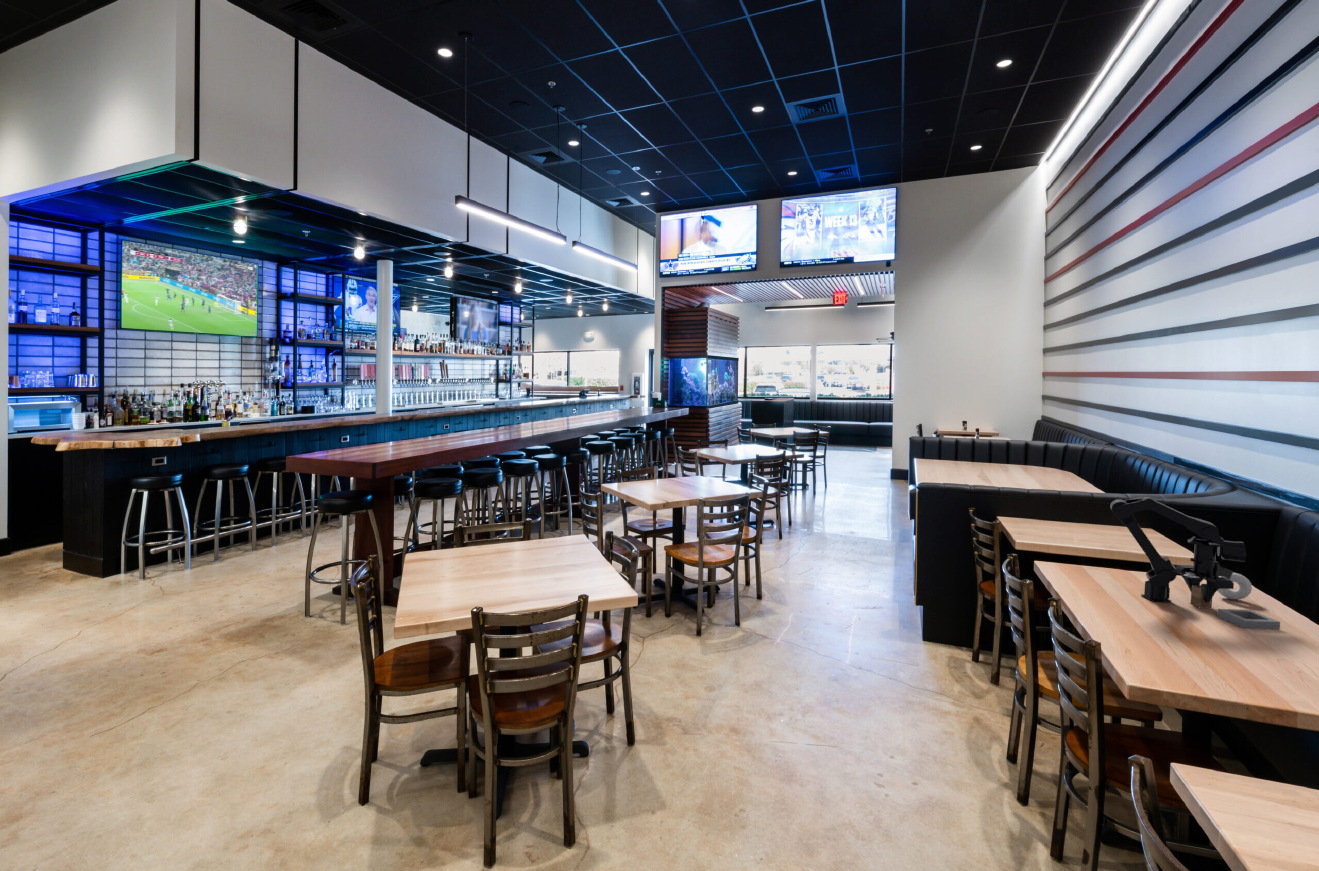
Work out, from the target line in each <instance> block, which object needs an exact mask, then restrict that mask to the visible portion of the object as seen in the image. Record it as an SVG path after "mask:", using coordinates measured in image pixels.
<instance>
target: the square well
mask: <svg viewBox="0 0 1319 871" xmlns="http://www.w3.org/2000/svg"><path fill="white" fill-rule="evenodd" d="M1216 616H1217V617H1219V618H1221V619H1223V620H1225V621H1227V622H1230V623H1232V624H1234V625H1237V627H1238V626H1239V627H1240V628H1242V629H1245V630H1246V629H1249V630H1250V629H1252V630H1253V629H1254V630H1281V621H1278V620H1277V619H1274V618H1272V617H1269V616H1267V615H1265V614H1262V613H1260V612H1256V611H1254V610H1252V609H1237V608H1235V609H1234V608H1233V609H1232V608H1230V609H1228V608H1217V613H1216Z"/></svg>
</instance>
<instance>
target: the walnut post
mask: <svg viewBox="0 0 1319 871" xmlns="http://www.w3.org/2000/svg"><path fill="white" fill-rule="evenodd" d="M1190 593H1191V594H1190V605H1192V606H1194V605H1195V606H1194V607H1196V606H1197V607H1196V608H1199V607H1200V608H1199V609H1212V608H1213V606H1212V605H1213V598H1212V599H1211V601H1210V602H1209V603H1206V602H1205V599H1204V595H1203V591H1202V586H1201V584H1200V585H1192V590H1191V591H1190Z"/></svg>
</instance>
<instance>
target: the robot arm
mask: <svg viewBox="0 0 1319 871" xmlns="http://www.w3.org/2000/svg"><path fill="white" fill-rule="evenodd" d="M1109 507H1110V510H1111V512H1112V514H1113V515H1114V516H1115V517H1116V518H1117V519H1118V520H1119V521H1120V522H1121V523H1122V524H1124V525H1125V527H1126V528H1127V530H1128V531H1129V533H1131V536H1132V537H1133V538H1134V540H1135V541H1136V542H1137V544H1138V545H1139V547H1140V548H1141V550H1142V551H1143V553H1144V555H1145V556H1146V557H1147V559H1148V561H1149V563H1150V565H1151V568H1152V569H1150V570H1148V571H1147V572H1146V573H1145V575H1146V578H1147V580H1145V581H1144V594H1140V596H1141V597H1142V598H1145V599H1147V600H1148V601H1151V602H1154V603H1155V602H1156V603H1157V602H1158V603H1172V600H1171V599H1170V596H1171V594H1170V592H1171V591H1170V590H1171V588H1170V583H1171V582H1173V581H1174V580H1176V578H1177V574H1179V575H1181V578H1182V579H1183V580H1184V582H1185V584H1186V586H1187V587H1188V588H1189V591H1190V592H1191V590H1192V585H1201V586H1202V591H1203V595H1204V599H1205V602H1206V603H1209V602H1210V601H1211V599H1212V600H1213V597H1214V596H1215V595H1216V592H1218V591H1217V590H1218V589H1230V590H1234V588H1235V587H1234V584H1235V582H1232V581H1231V580H1229V579H1230V578H1231V576H1232V574H1233V573H1235V572H1234V571H1233V570H1230V569H1228V568H1226V567H1222V566H1221V565H1220V562H1219V561H1216V558H1217V557H1216V556H1218V557H1221V560H1224V561H1233V562H1242V563H1245V562H1246V560H1247V552H1246V544H1245V542H1243V541H1231V540H1225V539H1224V538H1223V537H1222V536H1220V531H1219V528H1218V527H1217V526H1216V525H1214V524H1213V523H1212V522H1210V521H1207V520H1204V519H1201V518H1197V517H1193V516H1189V515H1187V514H1185V513H1183V512H1180V511H1178V510H1176V509H1174V508H1173V507H1170V506H1167V505H1166V504H1164V503H1162V502H1159V501H1157V500H1155V499H1154V498H1152V497H1150V496H1145V497H1141V498H1132V499H1125V500H1123V499H1121V498H1120V499H1117V498H1116V499H1115V500H1113V501H1111V503H1110V505H1109ZM1147 510H1150V511H1152V512H1154V513H1156V514H1158V515H1160V516H1162V517H1164V518H1166V519H1169V520H1171V521H1173V522H1175V523H1177V524H1178V525H1181V526H1183V527H1185V528H1186V529H1188V530H1189V531H1190V532H1192V533H1193V534H1195V535H1196V536H1198V537H1199V538H1201V539H1198V538H1197V537H1196V536H1192V537H1191V538H1188V539H1187V542H1188V543H1189V544H1190V545H1194V550H1193V557H1190V561H1191V562H1192V565H1191V564H1177V565H1174V564H1173V563H1172V562H1171V560H1170V558H1169V557H1168V556H1167V555H1166V556H1164V557H1163V556H1162V555H1161V554H1160V553H1159V552H1158V551H1157V549H1156V548H1155V546H1154V545H1153V543H1152V542H1151V541H1150V539H1149V538H1148V536H1147V534H1146V533H1145V532H1144V530H1143V529H1142V528H1141V526H1140V525H1139V523H1138V522H1137V519H1136V518H1135V515H1134V513H1138V512H1142V511H1147ZM1209 541H1212V542H1209ZM1216 554H1217V555H1216ZM1220 576H1222V577H1220ZM1223 577H1226V578H1227V579H1226V578H1223ZM1203 580H1204V581H1206V583H1202V582H1203Z"/></svg>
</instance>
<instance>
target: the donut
mask: <svg viewBox="0 0 1319 871" xmlns="http://www.w3.org/2000/svg"><path fill="white" fill-rule="evenodd" d="M1220 577H1222V576H1220ZM1223 578H1226V577H1223ZM1226 579H1227V578H1226ZM1229 580H1231V581H1232V582H1233V583H1236V584H1237V585H1238V589H1218V590H1217V591H1216V592H1218V593H1219V594H1220V595H1221V596H1222V597H1223V598H1226V599H1229V600H1243V599H1245V598H1247V597H1249V595H1250V594H1251V593H1252V590H1253V588H1252V583H1251V581H1250V580H1249V579H1248V578H1247V577H1246V576H1244V575H1243V574H1241V573H1237V572H1233V574H1232V576H1231V578H1230V579H1229Z"/></svg>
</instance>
